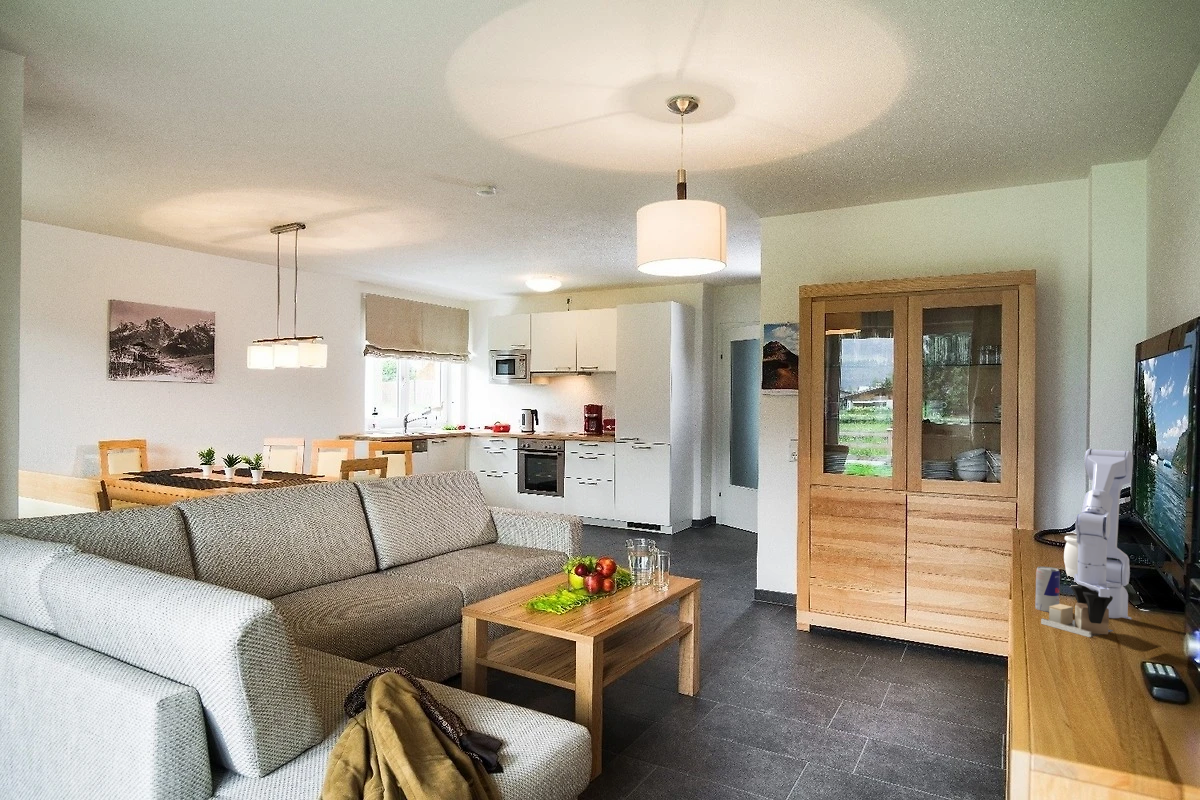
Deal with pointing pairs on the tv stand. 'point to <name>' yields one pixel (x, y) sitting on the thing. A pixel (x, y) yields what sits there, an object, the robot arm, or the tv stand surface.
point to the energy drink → (1047, 588)
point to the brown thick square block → (1084, 622)
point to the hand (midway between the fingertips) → (1090, 619)
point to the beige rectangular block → (1061, 614)
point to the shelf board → (1069, 628)
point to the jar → (1071, 555)
